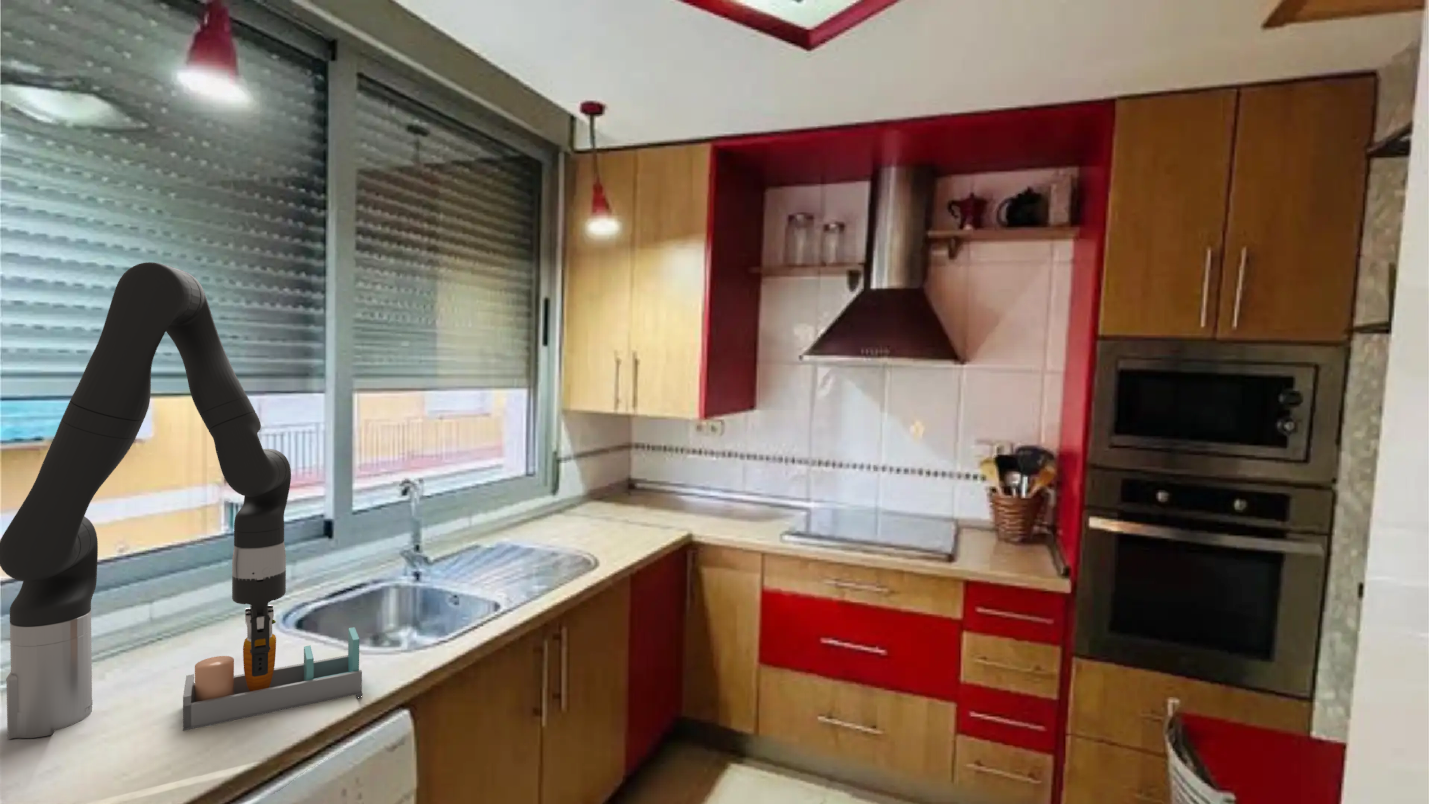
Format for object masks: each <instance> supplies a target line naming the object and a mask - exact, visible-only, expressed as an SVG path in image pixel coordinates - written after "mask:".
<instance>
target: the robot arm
mask: <svg viewBox="0 0 1429 804" xmlns="http://www.w3.org/2000/svg"><path fill="white" fill-rule="evenodd" d="M113 292H114V293H113V296H112V298H111V302H110V305H109V308H108V312H107V315H106V317H105V318H106V319H105V321H104V325H103V328H102V329H101V333H100V336H99V339H98V341H97V344H96V346H95V349H94V350H93V352H92V354H91V356H90V358H89V360H88V362H87V365H86V367H85V369H84V371H83V374H82V376H81V378H80V380H79V382H78V385H77V387H76V388H75V390H74V393H72V396H71V397H70V400H69V402H68V403H67V406H66V409H65V411H64V413H63V415H62V417H61V420H60V422H59V425H58V427H57V430H56V432H55V435H54V436H53V439H52V441H51V443H50V445H49V448H48V450H47V453H46V454H45V457H44V460H43V461H42V464H41V467H40V469H39V471H38V473H37V476H36V479H35V481H34V483H33V485H32V486H31V489H30V491H29V492H28V494H27V496H26V498H25V499H24V500H23V502H22V504H21V505H20V507H19V509H18V511H17V512H16V514H15V515H14V517H13V519H12V520H11V521H10V522H9V525H8V526H7V527H6V530H5V531H4V533H3V534H2V536H1V538H0V568H1V570H2V571H3V572H4V573H5V574H6V575H7V576H8V577H10V578H11V579H14V580H15V581H16V580H17V581H20V582H22V584H21V587H20V589H19V592H18V593H17V595H16V596H15V598H14V599H13V601H12V603H11V604H10V607H9V641H10V642H9V643H10V645H9V646H10V648H9V649H10V653H9V654H10V672H9V674H8V675H7V677H6V678H5V679H6V717H7V718H6V724H7V725H6V726H7V727H6V734H7V735H6V736H7V739H8V740H10V739H11V740H12V739H17V738H21V739H22V738H23V739H33V738H41V737H47V736H51V735H54V733H55V731H58V730H61V729H64V728H67V727H70V726H73V725H75V724H77V723H80V722H82V721H83V720H85V719H86V718H88V717H89V716H91V713H92V712H93V666H92V662H93V661H92V660H93V659H92V658H93V657H92V654H93V653H92V599H93V596H94V594H95V590H96V588H97V581H98V580H97V579H98V578H97V577H98V561H99V560H98V557H99V556H98V555H99V552H98V551H99V546H98V545H99V543H98V536H97V535H98V534H97V531H96V528H95V526H94V524H93V523H92V521H91V520H90V519H88V517H86V516H85V515H86V513H87V510H88V508H89V506H90V503H91V502H92V500H93V498H94V497H95V495H96V494H97V492H98V491H99V490H100V488H101V487H102V485H103V484H104V483H105V482H106V480H107V479H108V478H109V477H110V475H112V473H113V472H114V471H115V469H116V468H117V467H118V465H119V464H120V463H121V462H122V461H123V459H124V458H125V456H126V455H127V454H128V452H129V451H130V449H131V447H132V445H133V444H134V443H135V440H136V438H137V436H138V434H139V432H140V430H141V428H142V425H143V423H144V421H145V418H146V416H147V413H148V410H149V407H150V402H151V392H152V391H151V390H152V384H151V383H152V382H151V381H152V367H153V366H152V365H153V360H154V358H155V354H156V352H157V350H158V347H159V345H160V344H161V341H162V340H163V337H164V335H165V333H166V334H167V335H168V336H169V337H170V339H171V341H172V342H173V343H174V345H175V347H176V348H177V351H178V353H179V354H180V357H181V359H182V363H183V366H184V369H185V373H186V374H185V375H186V379H187V384H188V389H189V393H190V396H191V399H192V401H193V404H194V406H195V408H196V411H197V412H198V414H199V416H200V418H201V420H202V422H203V424H204V425H205V426H206V427H205V428H207V430H208V433H209V434H210V436H211V437H212V439H213V443H214V447H215V452H216V456H217V461H218V463H219V468H220V470H221V473H222V476H223V478H224V479H225V481H226V482H227V484H228V486H229V487H230V488H231V489H232V490H233V491H234V492H235V493H237V494H239V495H241V496H244V497H243V498H244V499H243V504H242V506H241V508H240V509H239V510H238V512H236V514H235V517H234V520H233V521H234V523H233V554H232V560H231V572H232V573H231V586H232V587H231V597H232V598H231V599H232V601H233V602H234V603H236V604H239V605H249V607H247V608H245V611H244V616H245V619H244V620H245V621H244V622H245V624H246V630H247V631H246V632H247V633H246V634H247V635H246V636H247V637H246V638H247V640H248V641H250V642H251V649H250V653H251V655H252V676H254V677H256V676H262V675H266V674H267V673H268V652H269V650H270V646H269V638H271V637H272V634H273V624H272V621H273V620H274V614H275V613H274V605H273V604H269V603H270V602H272V601H277V600H279V599H281V598H283V597H284V596H285V595H286V592H287V591H286V589H287V588H286V587H287V582H286V581H287V577H286V576H287V554H286V552H287V551H286V547H285V545H286V544H285V511H286V507H287V503H288V499H289V493H290V488H291V480H292V471H291V465H290V462H289V460H288V458H287V457H286V456H285V454H283V452H281V451H278V450H277V449H274V448H264V447H263V446H262V443H261V441H260V438H259V436H258V435H259V434H258V433H259V432H260V430H261V429H262V425H261V424H262V423H261V421H260V418H259V416H258V414H257V412H256V410H255V408H254V406H253V404H252V402H251V400H250V399H249V397H248V394H247V392H245V390H244V387H243V386H242V384H241V382H240V379H239V378H238V376H237V374H236V373H235V370H234V368H233V366H232V364H231V362H230V360H229V357H228V355H227V354H226V351H225V348H224V346H223V343H222V340H221V338H220V336H219V333H218V330H217V327H216V324H215V321H214V318H213V315H212V311H211V308H210V304H209V301H208V297H207V296H206V293H205V290H204V288H203V285H202V284H201V282H199V280H198V279H197V278H196V277H195V276H193V275H192V274H191V273H189V272H186V271H184V270H182V269H180V268H175V267H173V266H170V265H166V264H164V263H163V264H162V263H159V262H152V261H151V262H150V261H149V262H141V263H138V264H135V265H134V266H132V267H130V268H129V269H127V270H126V271H125V272H124V273H122V275H121V277H120V278H119V279H118V282H117V284H116V287H115V289H114V291H113ZM260 639H265V645H261V646H255V641H256V640H260Z"/></svg>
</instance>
